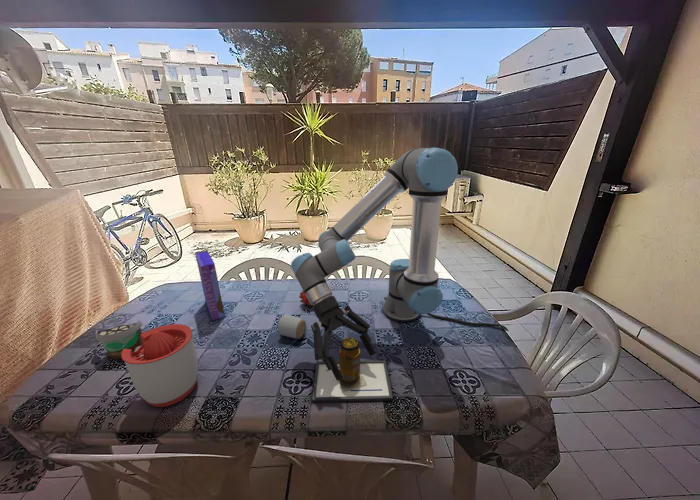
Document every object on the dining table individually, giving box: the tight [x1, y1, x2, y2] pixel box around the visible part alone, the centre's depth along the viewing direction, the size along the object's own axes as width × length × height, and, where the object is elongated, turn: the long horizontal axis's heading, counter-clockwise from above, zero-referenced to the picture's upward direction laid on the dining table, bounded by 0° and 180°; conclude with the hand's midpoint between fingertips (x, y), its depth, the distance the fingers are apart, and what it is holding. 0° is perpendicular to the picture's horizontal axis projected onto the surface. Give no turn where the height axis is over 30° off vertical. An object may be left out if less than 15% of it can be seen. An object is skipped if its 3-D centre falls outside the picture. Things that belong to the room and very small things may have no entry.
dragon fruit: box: [298, 290, 312, 308], centre depth 119 cm, size 8×8×12 cm
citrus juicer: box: [121, 323, 199, 408], centre depth 74 cm, size 16×17×20 cm
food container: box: [95, 319, 143, 360], centre depth 89 cm, size 12×6×10 cm, turn 117°
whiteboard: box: [311, 359, 394, 403], centre depth 80 cm, size 22×14×1 cm, turn 91°
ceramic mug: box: [277, 313, 307, 339], centre depth 100 cm, size 11×8×8 cm
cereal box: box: [194, 250, 226, 322], centre depth 112 cm, size 17×5×24 cm, turn 34°
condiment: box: [338, 337, 367, 391], centre depth 79 cm, size 7×8×12 cm
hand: (357, 366), depth 77 cm, fingers open, 13 cm apart
